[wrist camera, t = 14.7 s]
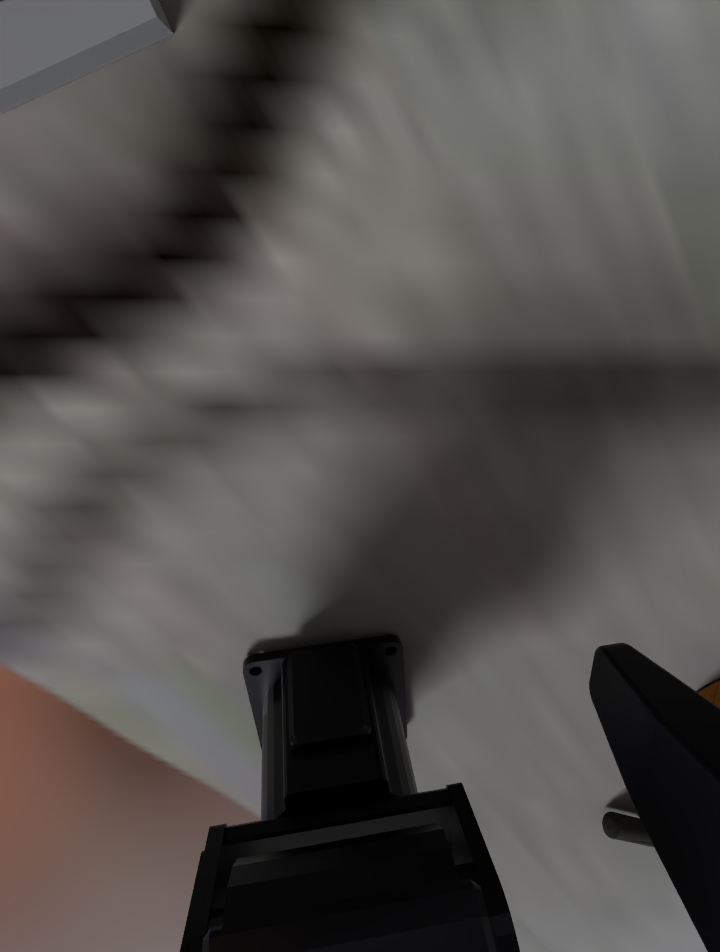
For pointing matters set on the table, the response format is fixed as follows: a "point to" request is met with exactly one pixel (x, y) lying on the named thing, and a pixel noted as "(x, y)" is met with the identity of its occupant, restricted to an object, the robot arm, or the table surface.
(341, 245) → the table surface
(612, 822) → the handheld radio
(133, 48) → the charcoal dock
